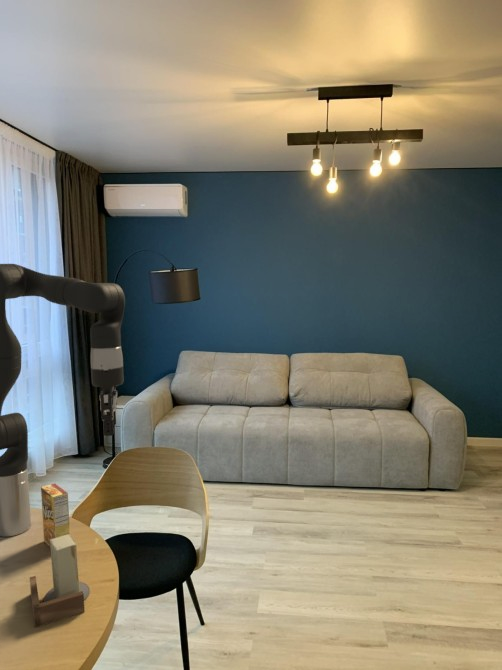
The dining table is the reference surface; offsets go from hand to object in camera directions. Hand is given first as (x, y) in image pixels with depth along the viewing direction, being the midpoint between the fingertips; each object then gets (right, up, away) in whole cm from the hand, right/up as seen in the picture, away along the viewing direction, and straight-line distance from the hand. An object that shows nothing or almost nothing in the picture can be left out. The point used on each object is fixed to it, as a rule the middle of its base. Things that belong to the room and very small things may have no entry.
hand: (110, 430), depth 120 cm
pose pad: (-6, -35, -12) cm, 37 cm away
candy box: (-17, -33, +10) cm, 38 cm away
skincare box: (-6, -35, -11) cm, 37 cm away
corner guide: (-8, -35, -14) cm, 38 cm away
